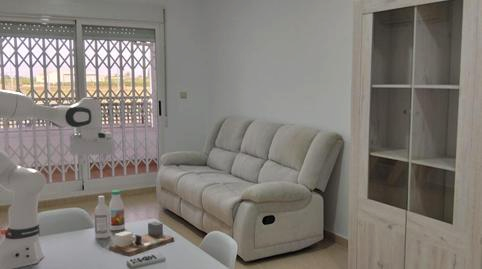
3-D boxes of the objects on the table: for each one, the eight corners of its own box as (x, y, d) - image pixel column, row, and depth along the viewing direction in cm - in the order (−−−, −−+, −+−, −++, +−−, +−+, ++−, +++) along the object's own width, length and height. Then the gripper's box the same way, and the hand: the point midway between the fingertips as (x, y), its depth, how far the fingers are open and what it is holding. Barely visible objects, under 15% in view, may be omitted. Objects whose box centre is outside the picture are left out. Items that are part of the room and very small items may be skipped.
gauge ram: (125, 248, 202) (124, 237, 202) (114, 245, 207) (114, 234, 206) (139, 243, 208) (139, 232, 208) (129, 240, 213) (129, 229, 213)
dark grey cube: (156, 236, 218) (156, 225, 218) (148, 234, 222) (147, 223, 222) (162, 234, 222) (162, 223, 221) (154, 232, 225) (154, 221, 225)
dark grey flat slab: (142, 246, 205) (142, 237, 204) (135, 243, 208) (134, 235, 208) (144, 245, 206) (144, 236, 205) (137, 243, 209) (136, 234, 209)
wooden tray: (128, 255, 198) (128, 251, 197) (109, 249, 206) (109, 245, 206) (173, 240, 218) (173, 236, 218) (154, 234, 226) (154, 231, 226)
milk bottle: (106, 230, 234) (104, 192, 233) (114, 226, 242) (113, 188, 240) (119, 231, 232) (118, 192, 230) (127, 227, 240) (126, 189, 238)
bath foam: (101, 234, 229) (99, 194, 227) (113, 235, 227) (111, 195, 225) (92, 238, 222) (90, 197, 221) (104, 239, 220) (102, 198, 218)
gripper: (66, 134, 205) (67, 165, 206) (110, 134, 203) (111, 165, 204) (72, 133, 212) (74, 163, 213) (116, 133, 210) (117, 163, 211)
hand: (92, 164), depth 209 cm, fingers open, 8 cm apart
